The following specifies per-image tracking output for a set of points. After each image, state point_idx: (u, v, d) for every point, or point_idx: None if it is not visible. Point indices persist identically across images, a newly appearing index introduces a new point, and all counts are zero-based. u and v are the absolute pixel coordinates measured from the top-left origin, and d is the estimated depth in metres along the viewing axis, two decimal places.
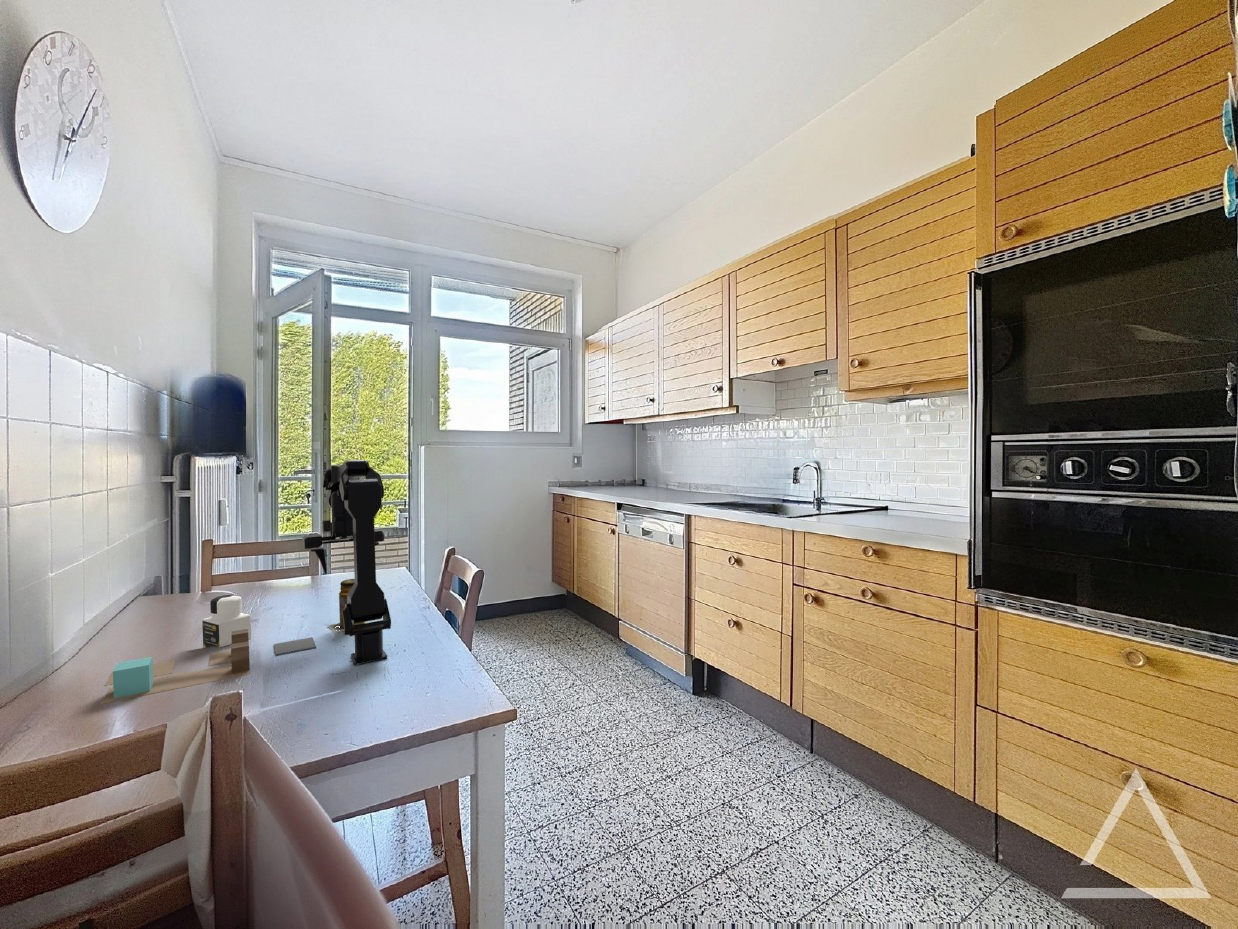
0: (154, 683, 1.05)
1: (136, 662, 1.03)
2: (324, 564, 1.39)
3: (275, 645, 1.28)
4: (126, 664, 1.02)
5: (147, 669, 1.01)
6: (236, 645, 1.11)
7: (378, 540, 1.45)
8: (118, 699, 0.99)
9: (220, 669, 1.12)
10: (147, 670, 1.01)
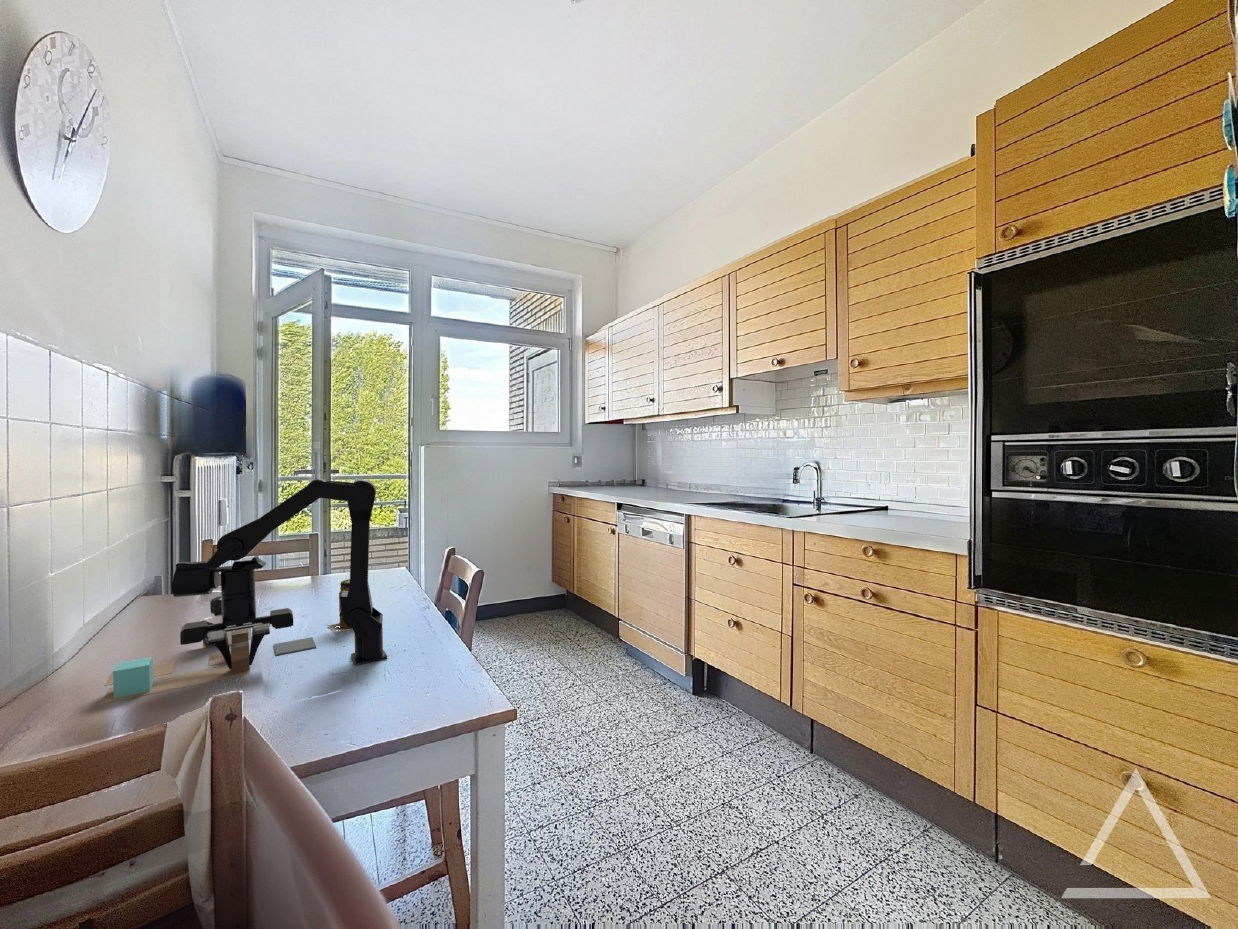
0: (154, 683, 1.05)
1: (136, 662, 1.03)
2: (228, 658, 1.09)
3: (275, 645, 1.28)
4: (126, 664, 1.02)
5: (147, 669, 1.01)
6: (236, 645, 1.11)
7: (285, 626, 1.14)
8: (118, 699, 0.99)
9: (220, 669, 1.12)
10: (147, 670, 1.01)
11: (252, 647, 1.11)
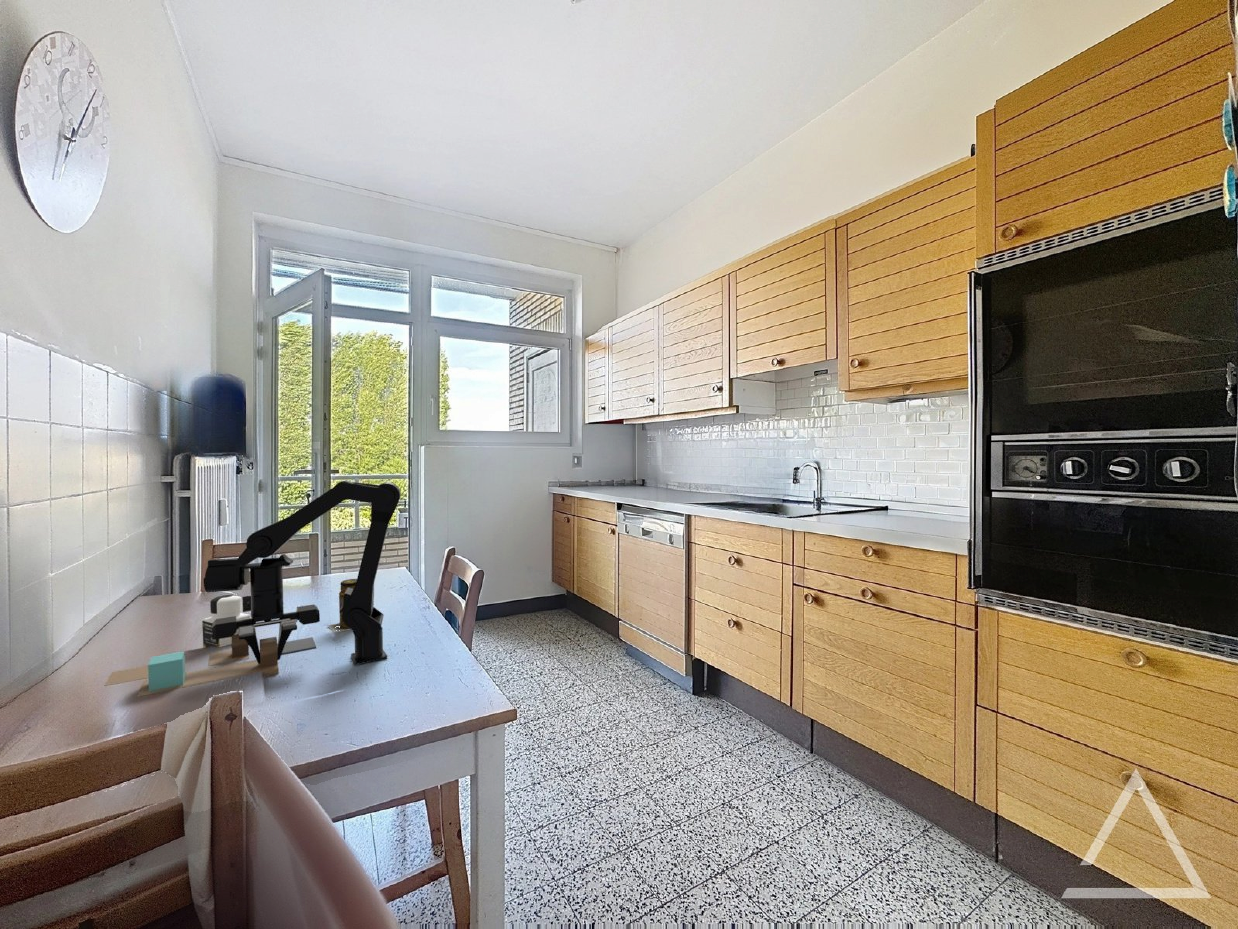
0: (186, 677, 1.08)
1: (169, 656, 1.06)
2: (257, 653, 1.12)
3: None
4: (160, 658, 1.05)
5: (180, 663, 1.04)
6: (264, 640, 1.14)
7: (311, 621, 1.16)
8: (153, 692, 1.01)
9: (249, 663, 1.14)
10: (180, 664, 1.04)
11: (280, 642, 1.14)
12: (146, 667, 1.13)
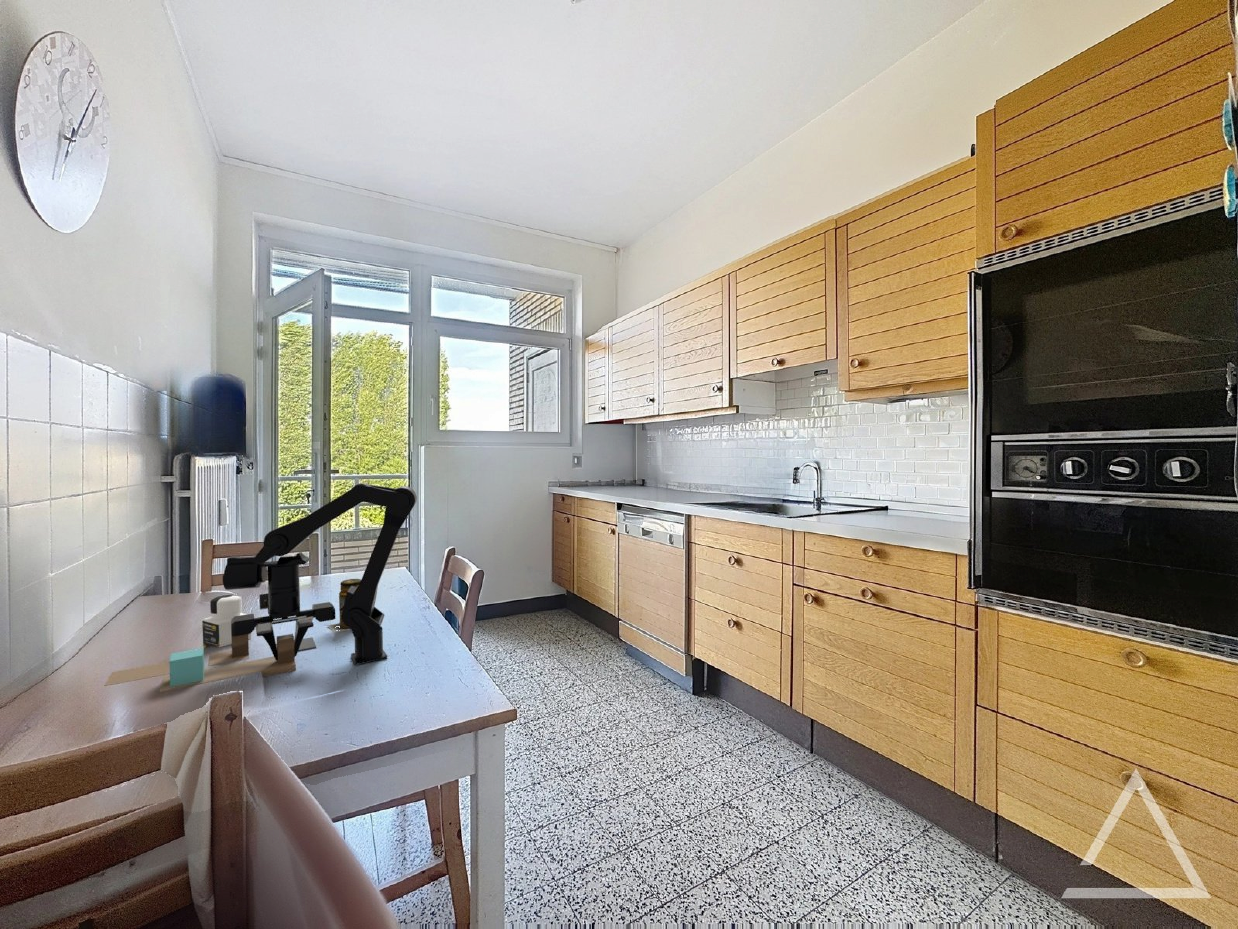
0: (206, 673, 1.10)
1: (189, 653, 1.07)
2: (274, 649, 1.14)
3: None
4: (180, 654, 1.06)
5: (201, 659, 1.06)
6: (281, 637, 1.16)
7: (327, 619, 1.18)
8: (174, 688, 1.03)
9: (266, 660, 1.16)
10: (201, 660, 1.06)
11: (297, 639, 1.16)
12: (146, 667, 1.13)
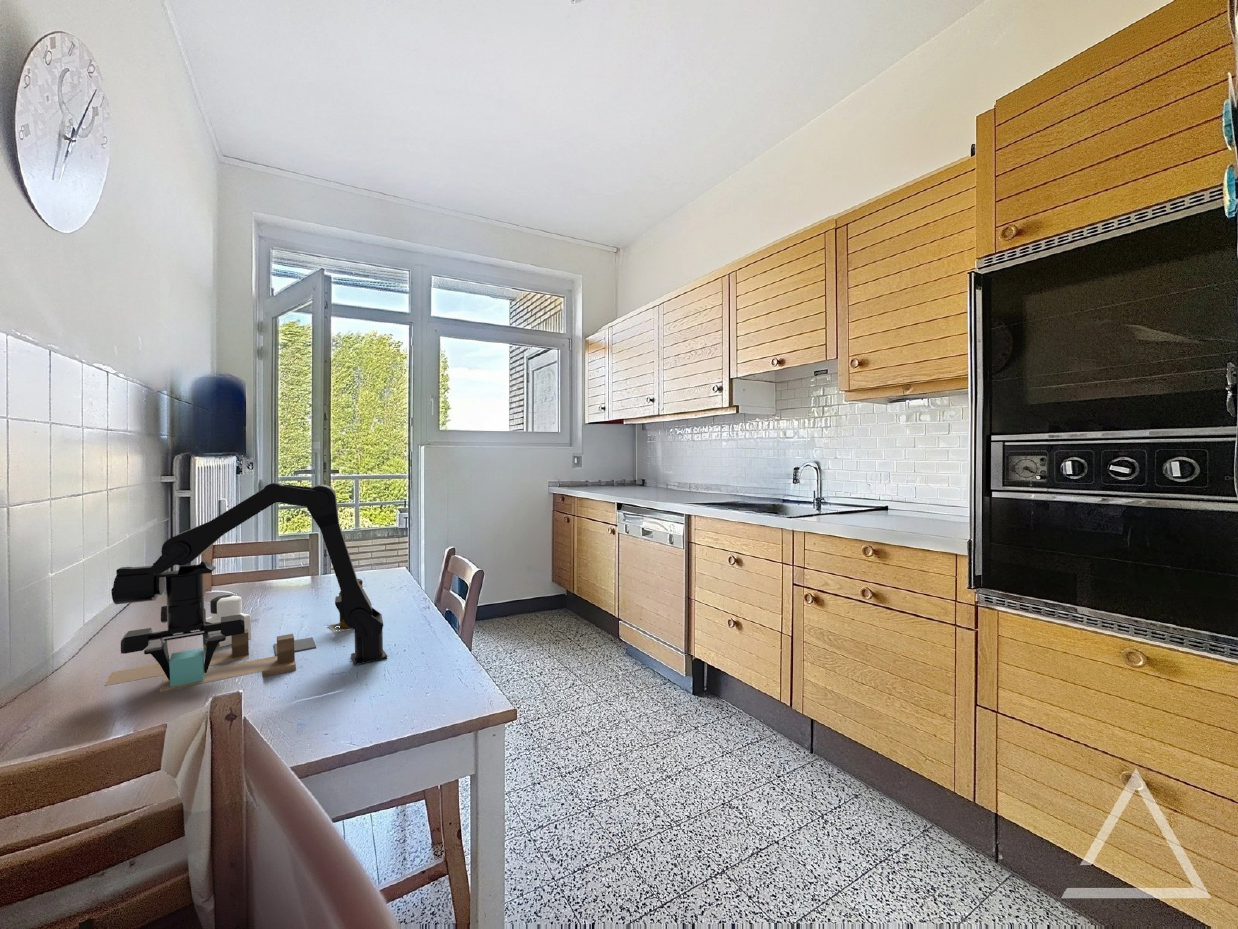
0: (206, 673, 1.10)
1: (189, 653, 1.07)
2: (166, 668, 1.04)
3: (275, 645, 1.28)
4: (180, 654, 1.06)
5: (201, 659, 1.06)
6: (281, 637, 1.16)
7: (235, 633, 1.09)
8: (175, 688, 1.03)
9: (266, 660, 1.16)
10: (201, 660, 1.06)
11: (206, 654, 1.07)
12: (146, 667, 1.13)
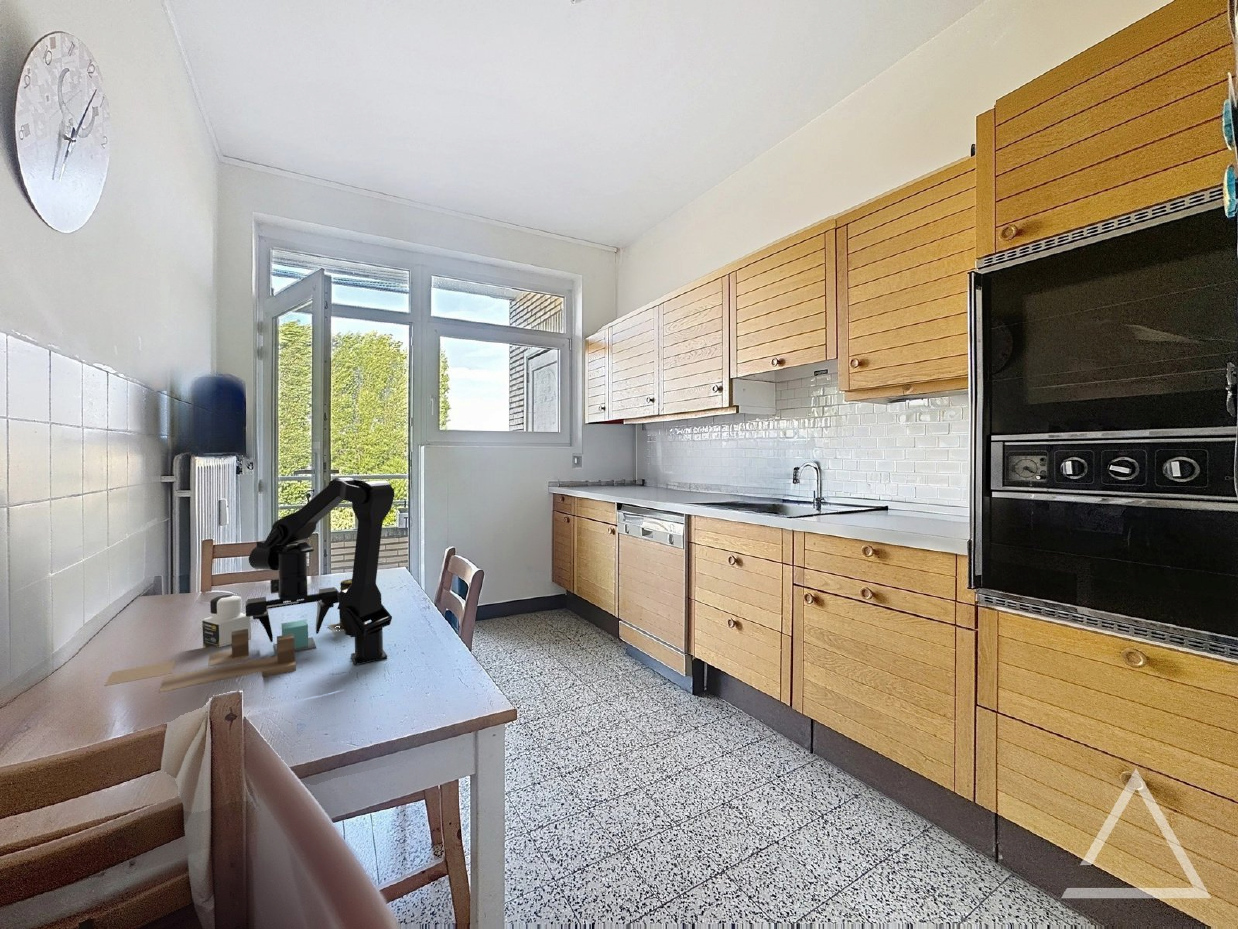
0: (206, 673, 1.10)
1: (296, 623, 1.28)
2: (269, 632, 1.24)
3: (275, 645, 1.28)
4: (289, 624, 1.27)
5: (306, 628, 1.27)
6: (282, 637, 1.16)
7: (332, 602, 1.29)
8: (175, 688, 1.03)
9: (266, 660, 1.16)
10: (306, 629, 1.27)
11: (319, 618, 1.29)
12: (146, 667, 1.13)
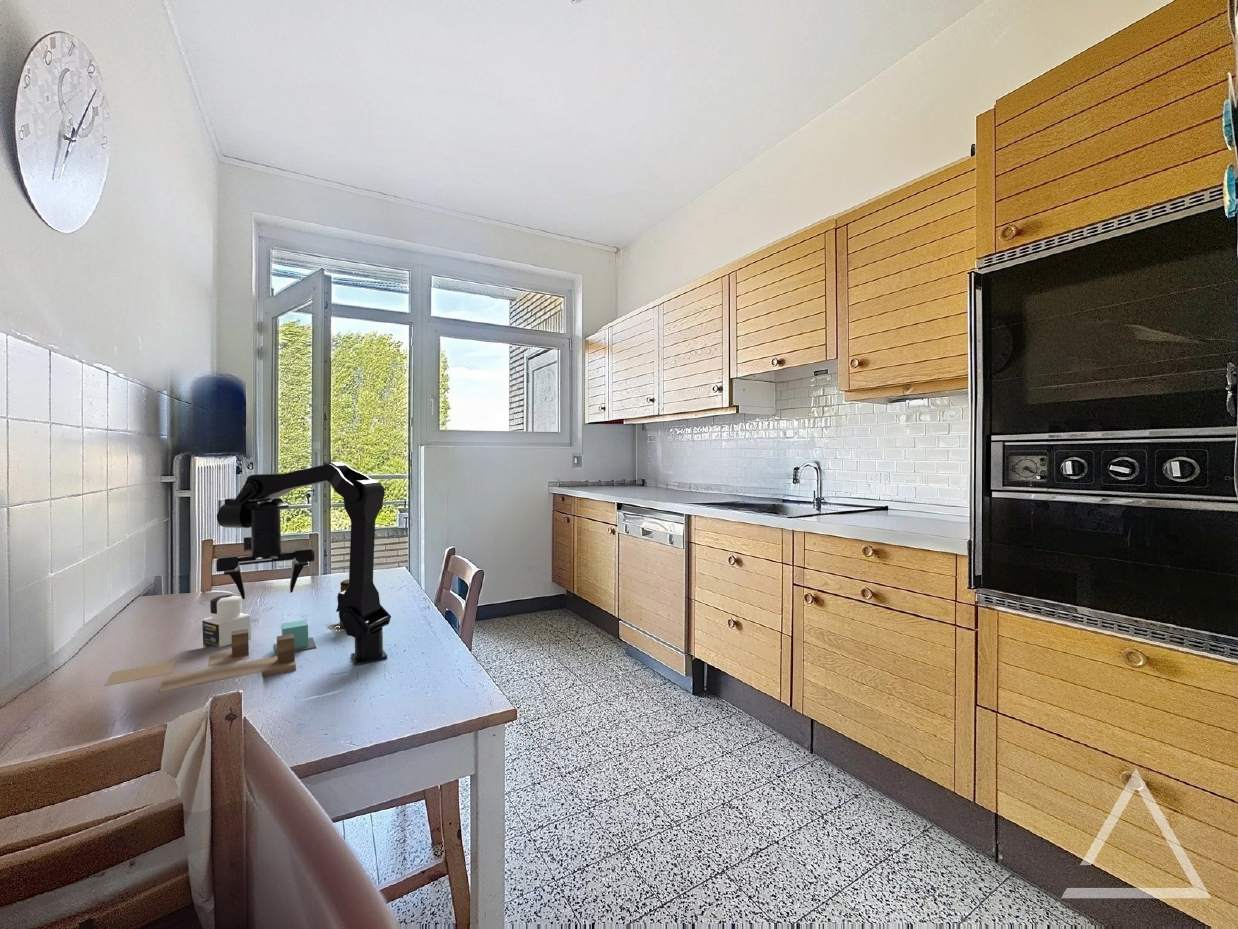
0: (206, 673, 1.10)
1: (296, 623, 1.28)
2: (241, 588, 1.21)
3: (275, 645, 1.28)
4: (289, 624, 1.27)
5: (306, 628, 1.27)
6: (282, 637, 1.16)
7: (307, 560, 1.27)
8: (175, 688, 1.03)
9: (266, 660, 1.16)
10: (306, 629, 1.27)
11: (293, 576, 1.26)
12: (146, 667, 1.13)
